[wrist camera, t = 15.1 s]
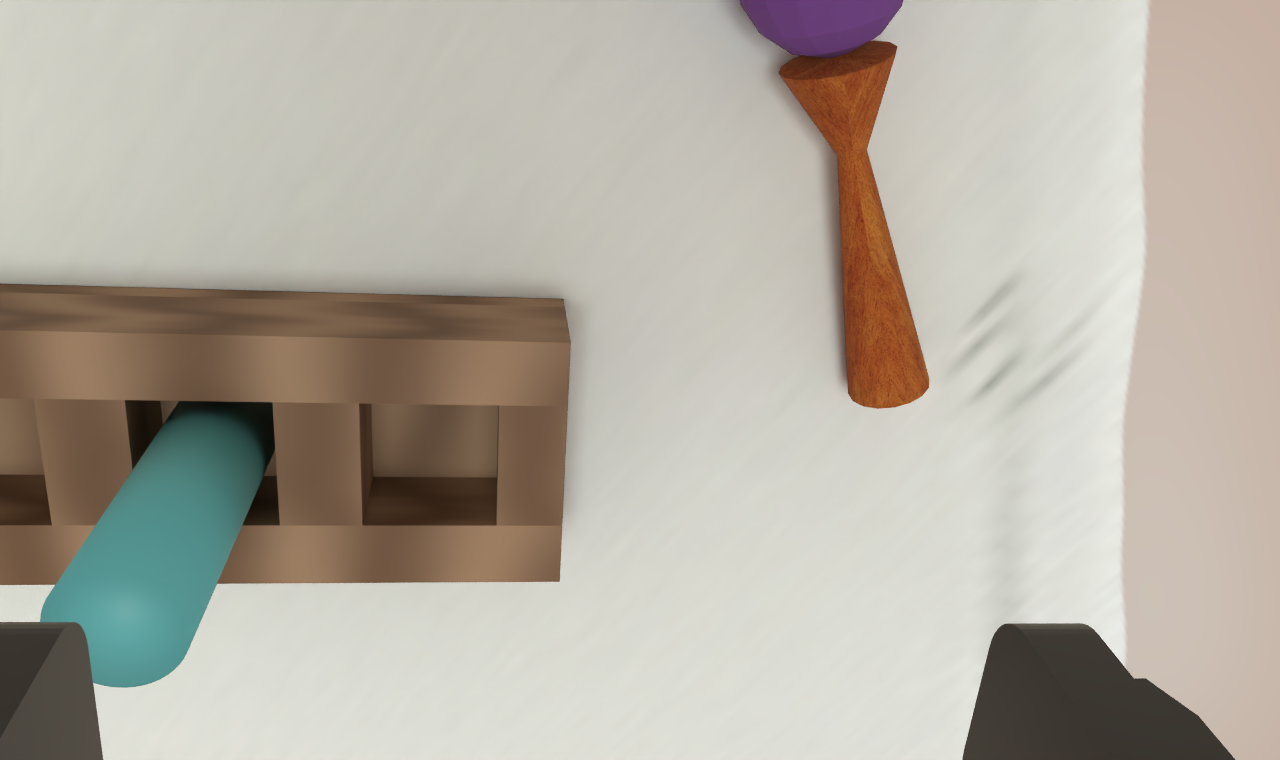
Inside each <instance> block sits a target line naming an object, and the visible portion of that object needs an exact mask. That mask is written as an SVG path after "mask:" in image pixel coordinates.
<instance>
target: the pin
mask: <svg viewBox="0 0 1280 760" xmlns="http://www.w3.org/2000/svg"><path fill="white" fill-rule="evenodd" d="M274 451H275V436H274V420H273V403H272V402H224V401H179V402H178V403H177V405H176V406H175V408H174V409H173V411H172V412H171V414H170V415H169V417H168V418H167V420H166V421H165V423H164V424H163V426H162V427H161V429H160V430H159V432H158V433H157V435H156V436H155V438H154V439H153V441H152V442H151V444H150V445H149V446H148V448H147V449H146V451H145V452H144V454H143V455H142V457H141V458H140V460H139V461H138V463H137V464H136V466H135V467H134V469H133V470H132V472H131V473H130V475H129V476H128V478H127V479H126V481H125V482H124V484H123V485H122V487H121V488H120V490H119V491H118V493H117V494H116V496H115V497H114V499H113V500H112V502H111V503H110V505H109V506H108V508H107V509H106V511H105V512H104V514H103V515H102V516H101V518H100V519H99V521H98V522H97V524H96V525H95V527H94V528H93V530H92V531H91V533H90V534H89V536H88V537H87V539H86V540H85V542H84V543H83V545H82V546H81V548H80V549H79V551H78V552H77V554H76V555H75V557H74V558H73V560H72V561H71V563H70V564H69V566H68V567H67V569H66V570H65V572H64V573H63V575H62V576H61V578H60V579H59V581H58V582H57V584H56V585H55V586H54V588H53V589H52V591H51V592H50V594H49V595H48V597H47V598H46V601H45V603H44V605H43V608H42V612H41V620H40V622H76V623H78V624H80V625H81V627H82V628H83V630H84V632H85V635H86V638H87V643H88V649H89V656H90V664H91V672H92V679H93V683H96V684H100V685H104V686H110V687H136V686H142V685H146V684H149V683H152V682H155V681H157V680H159V679H161V678H163V677H165V676H166V675H168V674H169V673H171V672H172V671H173V670H174V669H175V668H176V667H177V666H178V665H179V664H180V663H181V662H182V660H183V659H184V657H185V655H186V653H187V651H188V649H189V647H190V644H191V642H192V640H193V637H194V635H195V633H196V631H197V628H198V626H199V624H200V621H201V619H202V617H203V614H204V612H205V610H206V608H207V605H208V603H209V601H210V598H211V596H212V594H213V591H214V589H215V587H216V585H217V582H218V580H219V578H220V575H221V573H222V571H223V568H224V566H225V564H226V562H227V559H228V557H229V555H230V552H231V550H232V548H233V545H234V543H235V541H236V538H237V536H238V534H239V532H240V529H241V527H242V525H243V522H244V520H245V518H246V515H247V513H248V511H249V509H250V506H251V504H252V502H253V499H254V497H255V495H256V492H257V490H258V488H259V486H260V483H261V481H262V479H263V476H264V474H265V472H266V469H267V467H268V465H269V462H270V460H271V458H272V456H273V453H274Z"/></svg>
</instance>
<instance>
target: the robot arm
mask: <svg viewBox="0 0 1280 760" xmlns="http://www.w3.org/2000/svg"><path fill="white" fill-rule="evenodd" d="M0 760H103V755H102V748H101V740H100V732H99V725H98V717H97V710H96V702H95V694H94V687H93V679H92V672H91V664H90V656H89V649H88V643H87V638H86V635H85V632H84V630H83V628H82V627H81V625H80V624H78V623H76V622H0ZM963 760H1235V759H1234V758H1233V757H1232V755H1231V754H1230V753H1229V752H1228V751H1227V749H1226V748H1225V747H1224V746H1223V745H1222V743H1221V742H1220V741H1219V740H1218V739H1217V738H1216V736H1215V735H1214V734H1213V733H1212V732H1211V731H1210V729H1209V728H1208V727H1207V726H1206V725H1205V723H1204V722H1203V721H1202V720H1201V719H1200V717H1199V716H1198V715H1196V714H1195V713H1193V712H1192V711H1190V710H1189V709H1188V708H1186V707H1185V706H1183V705H1182V704H1181V703H1179V702H1178V701H1176V700H1175V699H1174V698H1172V697H1170V696H1169V695H1168V694H1167V693H1165V692H1164V691H1162V690H1161V689H1159V688H1158V687H1157V686H1155V685H1154V684H1153V683H1151V682H1150V681H1148V680H1147V679H1134V678H1133V677H1132V676H1131V675H1130V673H1129V672H1128V671H1127V670H1126V668H1125V667H1124V666H1123V665H1122V663H1121V662H1120V661H1119V660H1118V658H1117V657H1116V656H1115V655H1114V653H1113V652H1112V651H1111V650H1110V648H1109V647H1108V646H1107V645H1106V643H1105V642H1104V641H1103V640H1102V639H1101V637H1100V636H1099V635H1098V634H1097V633H1096V632H1095V631H1094V629H1092V628H1091V627H1089V626H1088V625H1085V624H1004V625H1002V626H1001V627H999V628H998V630H997V631H996V632H995V634H994V636H993V638H992V641H991V644H990V648H989V652H988V656H987V660H986V664H985V668H984V672H983V676H982V680H981V684H980V688H979V692H978V696H977V700H976V704H975V708H974V712H973V716H972V720H971V725H970V729H969V733H968V737H967V741H966V745H965V749H964V754H963Z"/></svg>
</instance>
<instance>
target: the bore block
mask: <svg viewBox="0 0 1280 760" xmlns="http://www.w3.org/2000/svg"><path fill="white" fill-rule="evenodd" d="M570 346H571V342H570V336H569V330H568V324H567V318H566V313H565V307H564V301H563V299H542V298H505V297H468V296H431V295H394V294H357V293H320V292H283V291H246V290H209V289H172V288H135V287H98V286H61V285H24V284H0V585H56V584H57V582H58V581H59V579H60V578H61V576H62V575H63V573H64V572H65V570H66V569H67V567H68V566H69V564H70V563H71V561H72V560H73V558H74V557H75V555H76V554H77V552H78V551H79V549H80V548H81V546H82V545H83V543H84V542H85V540H86V539H87V537H88V536H89V534H90V533H91V531H92V530H93V528H94V527H95V525H96V524H97V522H98V521H99V519H100V518H101V516H102V515H103V514H104V512H105V511H106V509H107V508H108V506H109V505H110V503H111V502H112V500H113V499H114V497H115V496H116V494H117V493H118V491H119V490H120V488H121V487H122V485H123V484H124V482H125V481H126V479H127V478H128V476H129V475H130V473H131V472H132V470H133V469H134V467H135V466H136V464H137V463H138V461H139V460H140V458H141V457H142V455H143V454H144V452H145V451H146V449H147V448H148V446H149V445H150V444H151V442H152V441H153V439H154V438H155V436H156V435H157V433H158V432H159V430H160V429H161V427H162V426H163V424H164V423H165V421H166V420H167V418H168V417H169V415H170V414H171V412H172V411H173V409H174V408H175V406H176V405H177V403H178V402H179V401H224V402H272V403H273V420H274V436H275V451H274V453H273V456H272V458H271V460H270V462H269V465H268V467H267V469H266V472H265V474H264V476H263V479H262V481H261V483H260V486H259V488H258V490H257V492H256V495H255V497H254V499H253V502H252V504H251V506H250V509H249V511H248V513H247V515H246V518H245V520H244V522H243V525H242V527H241V529H240V532H239V534H238V536H237V538H236V541H235V543H234V545H233V548H232V550H231V552H230V555H229V557H228V559H227V562H226V564H225V566H224V568H223V571H222V573H221V575H220V578H219V580H218V582H217V584H229V583H395V582H560V562H561V540H562V518H563V497H564V475H565V454H566V432H567V411H568V389H569V367H570Z"/></svg>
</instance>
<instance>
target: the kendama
mask: <svg viewBox="0 0 1280 760" xmlns="http://www.w3.org/2000/svg"><path fill="white" fill-rule="evenodd" d="M740 3H741V5H742V7H743V8H744V10H745V11H746V13H747V14H748V16H749V17H750V19H751V20H752V22H753V24H754V25H755V27H756V28H757V30H758V31H759V33H761V34H762V35H763V36H765V37H766V38H768V39H769V40H771V41H772V42H774V43H775V44H777V45H779V46H780V47H782V48H783V49H785V50H786V51H788V52H789V53H791V54H796V55H802V56H799V57H797V58H795V59H792V60H791V61H789V62H788V63H786V64H785V65H783V66H782V67H781V69H780V71H779V74H780V76H781V77H782V79H783V80H784V81H785V83H786V84H787V86H788V87H789V88H790V90H791V91H792V93H793V94H794V95H795V97H796V98H797V100H798V101H799V102H800V104H801V105H802V107H803V108H804V109H805V111H806V112H807V114H808V115H809V116H810V118H811V119H812V121H813V122H814V123H815V125H816V126H817V128H818V129H819V130H820V132H821V133H822V135H823V136H824V137H825V139H826V140H827V142H828V143H829V144H830V146H831V147H832V149H833V150H834V152H835V153H836V154H837V160H838V182H839V204H840V225H841V247H842V269H843V290H844V312H845V333H846V355H847V377H848V394H849V396H850V397H851V399H852V400H853V401H854V402H856V403H858V404H860V405H862V406H865V407H872V408H891V407H897V406H901V405H904V404H908V403H911V402H912V401H914V400H916V399H918V398H919V397H921V396H922V395H923V394H924V393H925V392H926V390H927V389H928V388H929V376H928V373H927V369H926V365H925V362H924V358H923V354H922V351H921V347H920V343H919V340H918V336H917V332H916V329H915V325H914V321H913V318H912V314H911V310H910V307H909V303H908V299H907V296H906V292H905V288H904V285H903V281H902V277H901V274H900V270H899V266H898V263H897V259H896V255H895V252H894V248H893V244H892V241H891V237H890V233H889V230H888V226H887V222H886V219H885V215H884V211H883V208H882V204H881V200H880V197H879V193H878V189H877V186H876V182H875V178H874V175H873V171H872V167H871V164H870V160H869V156H868V153H867V147H868V143H869V140H870V137H871V133H872V130H873V127H874V124H875V120H876V117H877V114H878V110H879V107H880V104H881V100H882V97H883V94H884V91H885V87H886V84H887V81H888V77H889V74H890V71H891V67H892V64H893V61H894V57H895V54H896V50H897V46H896V45H894V44H892V43H890V42H883V41H871V40H873V39H874V38H875V37H877V36H878V35H880V34H881V33H882V32H883V30H884V29H885V28H886V26H887V25H888V24H889V22H890V21H891V20H892V18H893V17H894V16H895V14H896V13H897V12H898V10H899V9H900V8H901V6H902V3H903V0H740Z"/></svg>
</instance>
